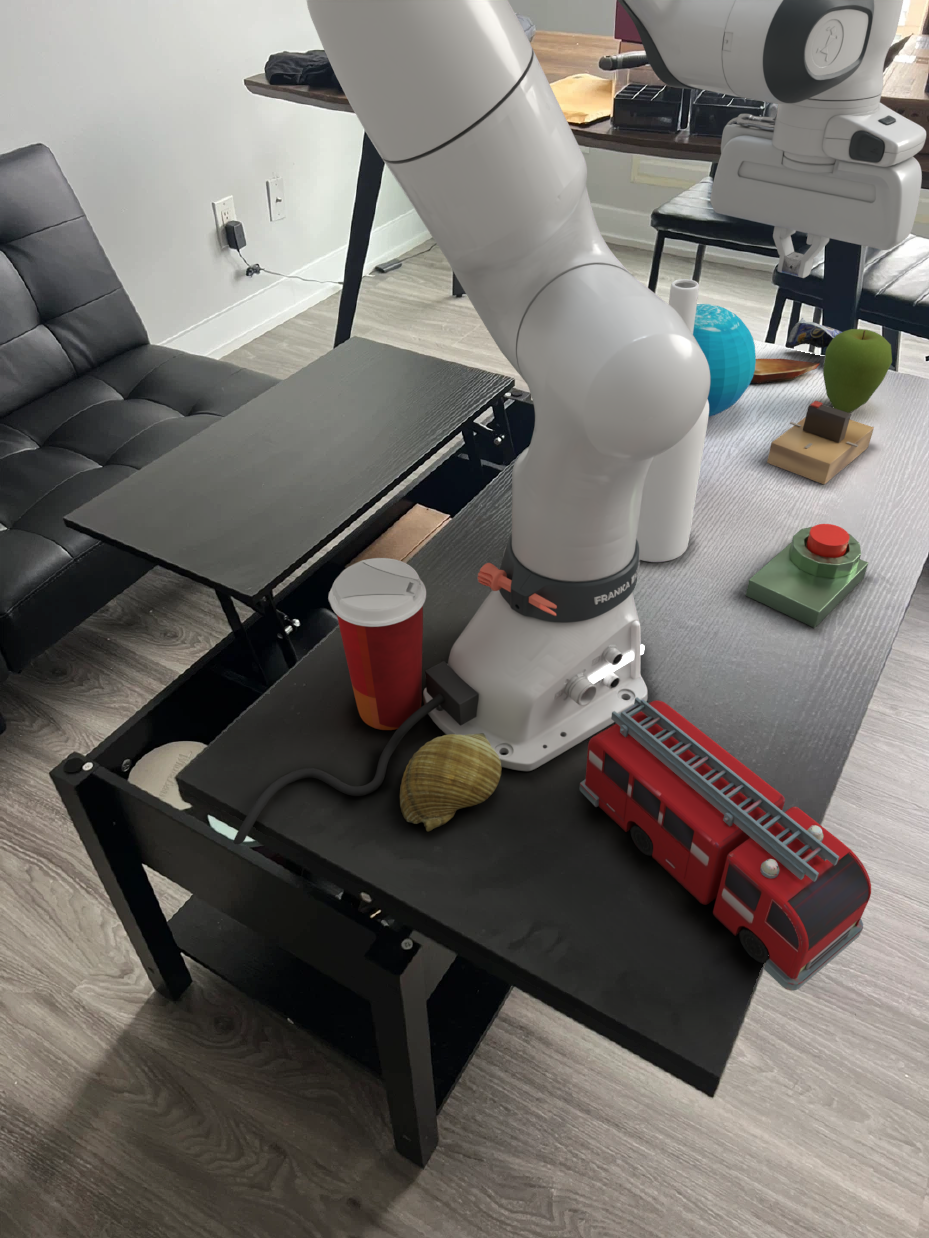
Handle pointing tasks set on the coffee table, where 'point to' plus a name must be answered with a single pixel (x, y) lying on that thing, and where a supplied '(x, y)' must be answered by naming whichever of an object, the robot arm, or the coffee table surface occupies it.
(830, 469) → the panel
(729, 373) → the decorative orb
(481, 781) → the seashell
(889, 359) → the apple
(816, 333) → the snack package
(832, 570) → the green lamp base
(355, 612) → the coffee cup
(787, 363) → the wooden boat shaped bowl
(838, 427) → the knob
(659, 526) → the bottle
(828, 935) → the toy
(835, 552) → the lamp button
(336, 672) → the coffee table surface
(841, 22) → the robot arm
